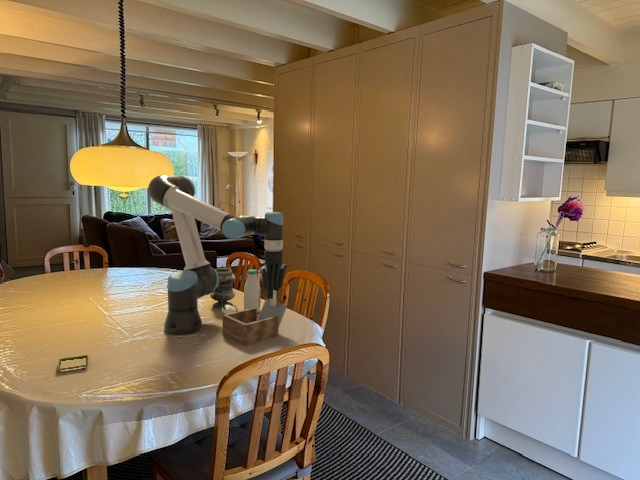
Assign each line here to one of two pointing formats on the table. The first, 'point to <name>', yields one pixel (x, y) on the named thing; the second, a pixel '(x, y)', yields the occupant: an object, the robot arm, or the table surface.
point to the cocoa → (227, 307)
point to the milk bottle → (252, 291)
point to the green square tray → (73, 359)
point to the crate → (249, 326)
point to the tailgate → (272, 311)
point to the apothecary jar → (223, 288)
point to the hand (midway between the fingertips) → (272, 305)
